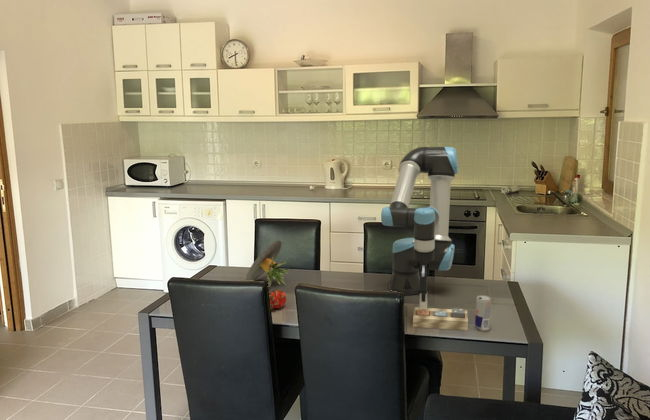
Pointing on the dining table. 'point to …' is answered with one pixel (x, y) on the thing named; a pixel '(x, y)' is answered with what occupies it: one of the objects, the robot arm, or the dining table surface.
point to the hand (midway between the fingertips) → (423, 308)
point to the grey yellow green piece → (267, 265)
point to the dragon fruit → (277, 299)
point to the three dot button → (440, 313)
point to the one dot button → (423, 312)
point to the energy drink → (483, 313)
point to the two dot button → (457, 313)
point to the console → (440, 320)
